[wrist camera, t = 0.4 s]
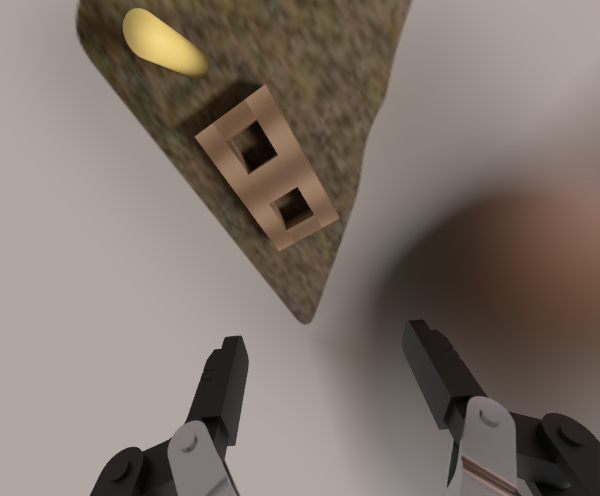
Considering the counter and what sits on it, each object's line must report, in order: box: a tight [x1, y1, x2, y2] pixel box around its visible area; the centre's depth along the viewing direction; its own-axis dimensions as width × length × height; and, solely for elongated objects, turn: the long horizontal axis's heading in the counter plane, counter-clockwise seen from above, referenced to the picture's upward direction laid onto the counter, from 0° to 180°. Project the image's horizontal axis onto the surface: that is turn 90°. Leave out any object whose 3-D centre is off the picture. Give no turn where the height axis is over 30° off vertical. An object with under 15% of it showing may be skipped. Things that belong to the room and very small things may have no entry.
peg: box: [123, 8, 209, 79], centre depth 23 cm, size 3×3×11 cm
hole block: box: [195, 85, 339, 251], centre depth 33 cm, size 18×10×4 cm, turn 31°
